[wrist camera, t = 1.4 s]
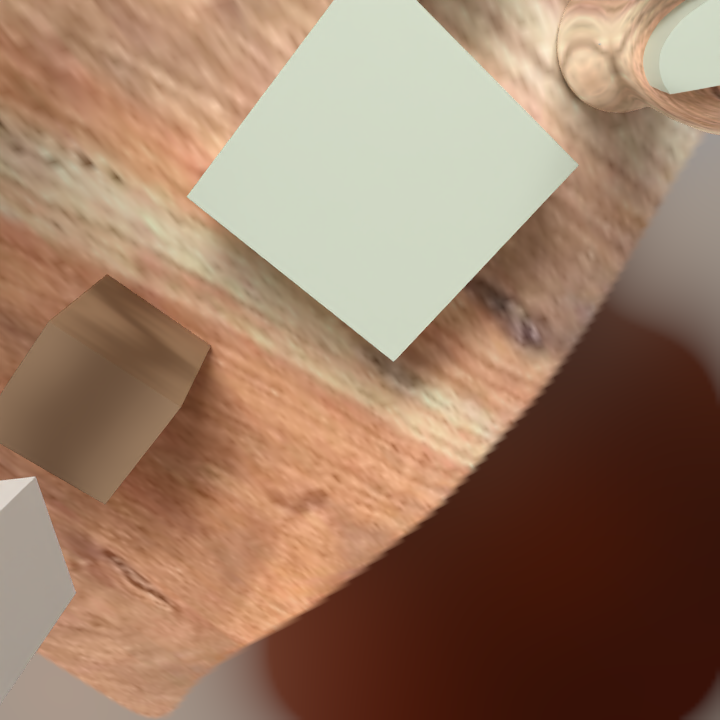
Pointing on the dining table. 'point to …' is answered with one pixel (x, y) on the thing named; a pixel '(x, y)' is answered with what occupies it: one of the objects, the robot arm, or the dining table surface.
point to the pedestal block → (382, 169)
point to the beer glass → (645, 57)
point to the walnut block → (99, 388)
